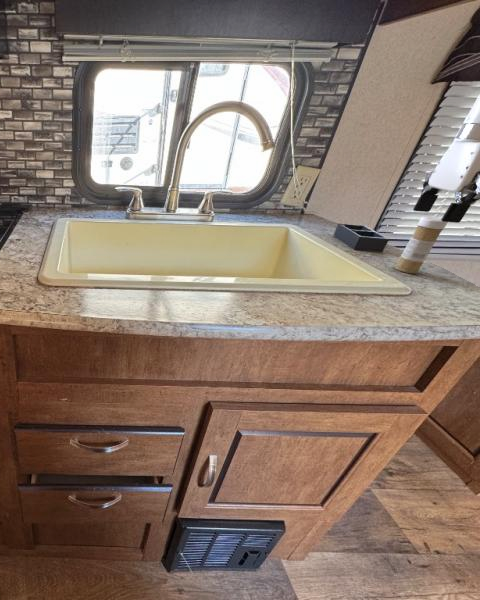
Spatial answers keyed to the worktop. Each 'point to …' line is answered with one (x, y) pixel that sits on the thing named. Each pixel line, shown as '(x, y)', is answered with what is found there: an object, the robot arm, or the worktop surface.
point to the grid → (360, 237)
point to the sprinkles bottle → (420, 244)
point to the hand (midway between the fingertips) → (434, 216)
